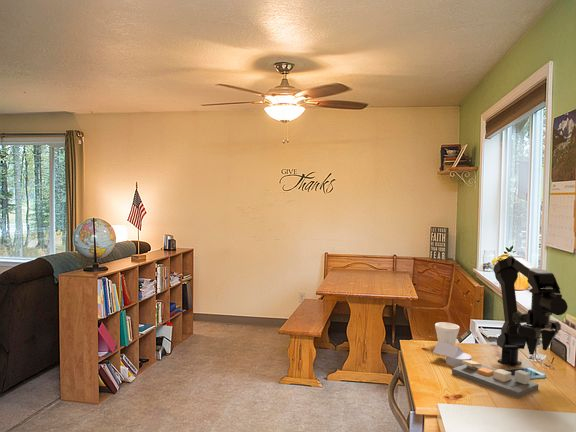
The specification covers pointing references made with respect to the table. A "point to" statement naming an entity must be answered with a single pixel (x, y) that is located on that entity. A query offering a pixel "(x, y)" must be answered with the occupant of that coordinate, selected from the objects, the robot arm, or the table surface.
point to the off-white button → (502, 375)
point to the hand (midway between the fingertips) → (538, 352)
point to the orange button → (485, 371)
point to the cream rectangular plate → (471, 363)
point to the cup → (447, 332)
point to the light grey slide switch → (522, 377)
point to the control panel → (495, 381)
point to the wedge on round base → (451, 354)
